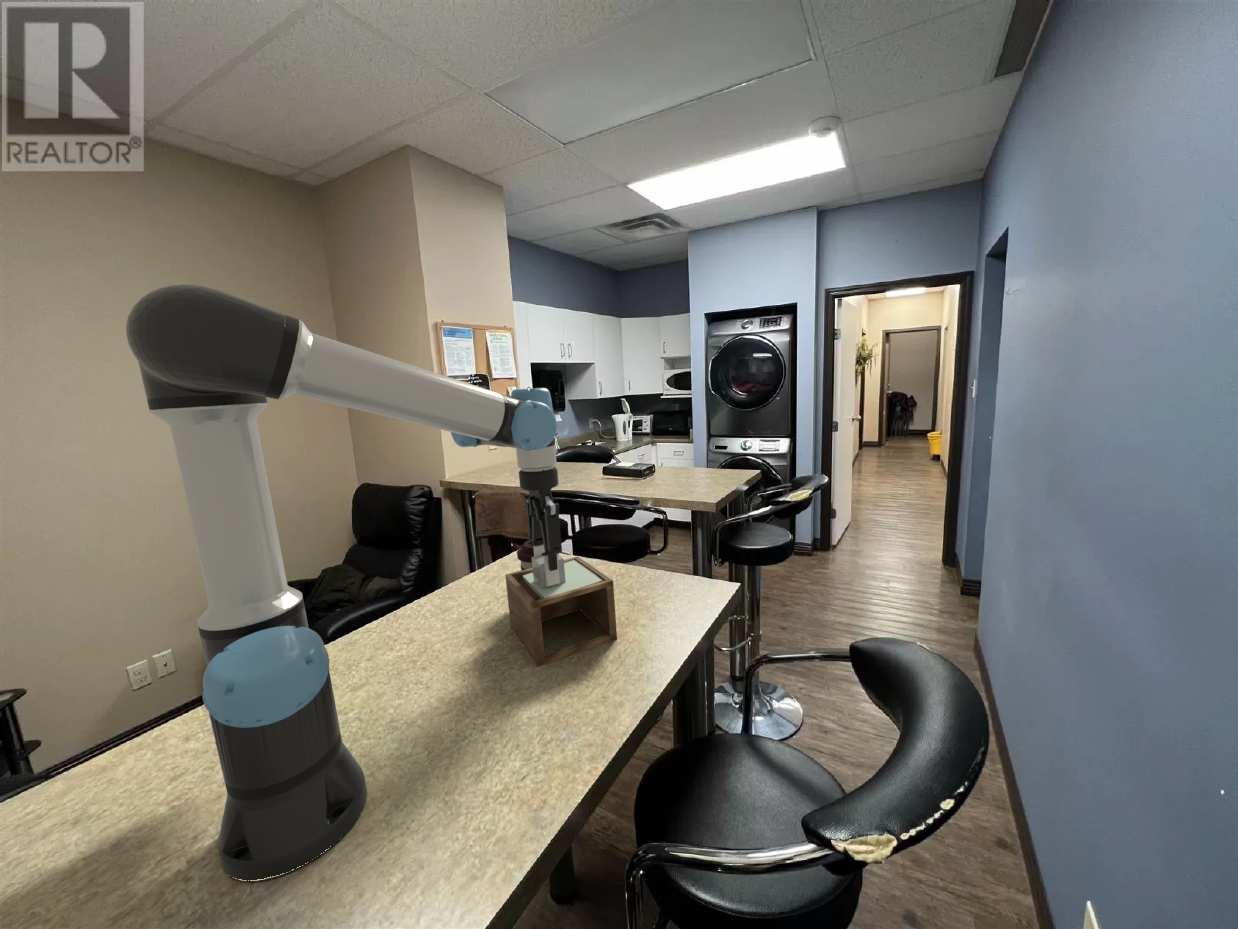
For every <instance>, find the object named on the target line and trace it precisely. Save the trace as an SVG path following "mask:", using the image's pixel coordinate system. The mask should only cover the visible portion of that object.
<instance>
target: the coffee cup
mask: <svg viewBox="0 0 1238 929" xmlns="http://www.w3.org/2000/svg"><path fill="white" fill-rule="evenodd" d="M533 546H534V545H533V544H532V540H530V539H528V540H527V541H525V542H523V544H522V546H521V547H519V548H518V549H517V550H516V556H517V559H518V560H519V561H520V571H522V570H526V569H530V568H533V567H532V558H531V557H534V548H533ZM557 554H558V555H559V556H560V553H557Z"/></svg>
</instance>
